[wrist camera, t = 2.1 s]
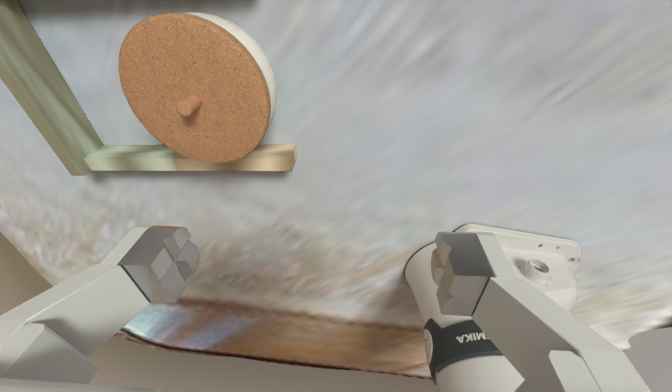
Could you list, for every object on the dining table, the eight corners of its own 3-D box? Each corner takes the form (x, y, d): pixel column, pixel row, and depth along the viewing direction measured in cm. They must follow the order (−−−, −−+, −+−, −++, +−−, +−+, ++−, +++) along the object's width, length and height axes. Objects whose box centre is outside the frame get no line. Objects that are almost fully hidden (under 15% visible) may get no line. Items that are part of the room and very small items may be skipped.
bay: (266, -59, 21) (249, -65, 18) (297, 156, 32) (290, 176, 29) (-25, -39, 23) (-87, -42, 20) (98, 156, 34) (71, 175, 31)
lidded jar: (188, 119, 30) (132, 166, 23) (160, -4, 23) (67, 5, 16) (289, 132, 30) (265, 182, 23) (289, 13, 24) (255, 29, 16)
